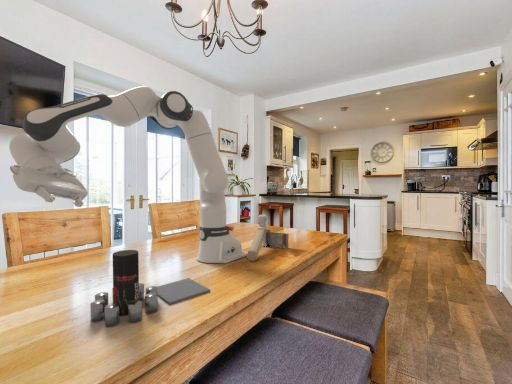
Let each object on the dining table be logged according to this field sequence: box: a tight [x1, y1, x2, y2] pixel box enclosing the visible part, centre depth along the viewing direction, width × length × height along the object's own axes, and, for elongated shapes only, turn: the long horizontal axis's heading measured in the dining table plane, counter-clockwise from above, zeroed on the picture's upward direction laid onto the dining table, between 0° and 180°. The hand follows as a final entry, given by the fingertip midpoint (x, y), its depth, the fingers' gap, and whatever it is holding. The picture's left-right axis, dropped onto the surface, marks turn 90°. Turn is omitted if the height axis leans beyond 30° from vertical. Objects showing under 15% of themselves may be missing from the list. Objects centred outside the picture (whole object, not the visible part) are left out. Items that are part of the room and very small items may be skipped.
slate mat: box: [156, 277, 211, 305], centre depth 81 cm, size 13×13×1 cm
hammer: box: [246, 214, 268, 262], centre depth 126 cm, size 16×5×30 cm
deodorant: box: [112, 249, 140, 317], centre depth 69 cm, size 6×6×15 cm
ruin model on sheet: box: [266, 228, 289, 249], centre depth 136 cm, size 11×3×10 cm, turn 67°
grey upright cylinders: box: [89, 282, 159, 328], centre depth 69 cm, size 16×16×4 cm
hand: (66, 203), depth 79 cm, fingers open, 8 cm apart
